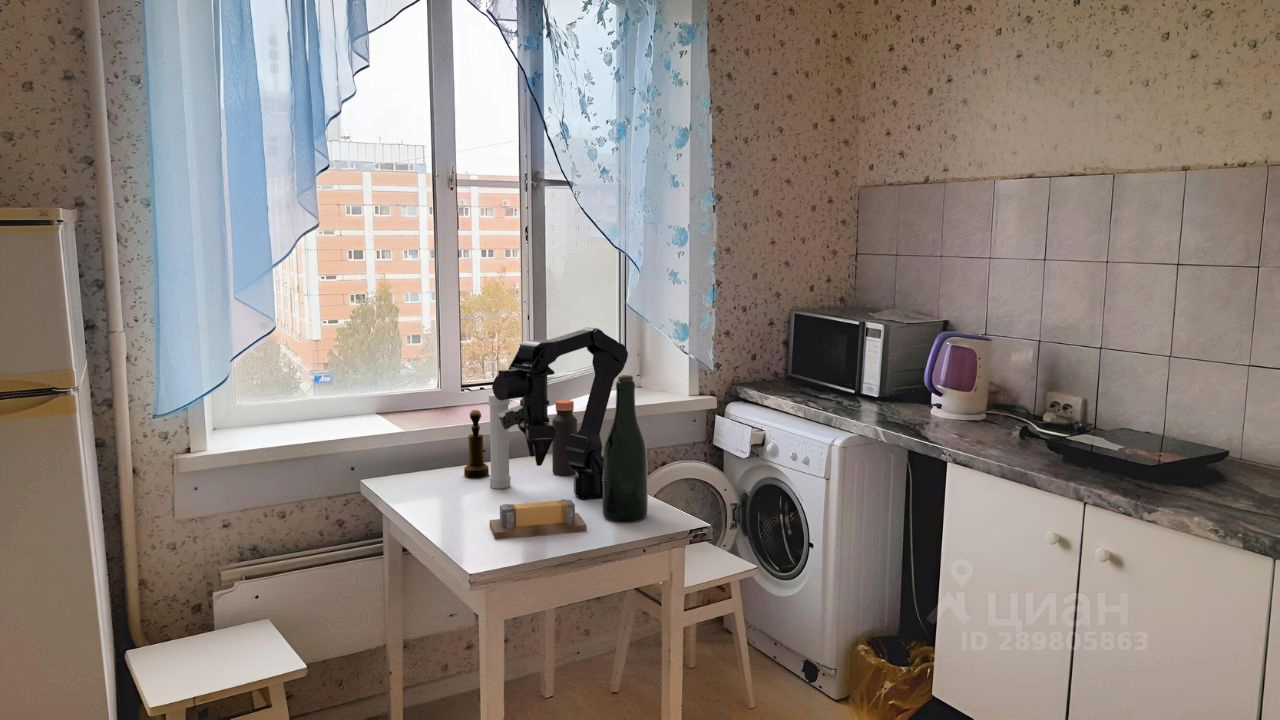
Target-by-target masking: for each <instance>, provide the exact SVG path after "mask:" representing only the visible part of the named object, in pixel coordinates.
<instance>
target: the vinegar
mask: <svg viewBox="0 0 1280 720" xmlns="http://www.w3.org/2000/svg"><path fill="white" fill-rule="evenodd" d="M574 405H575V404H574V400H570V399H561V400H559V399H558V400H556V401H555V412H556V415H555V416H554V417H553V418H552V421H551V425H552V426H553V427H554V428H555V429H556V437H555V438H554V440H553V441H552V443H551V447H552V449H551V450H552V454H551V457H552V459H551V460H552V474H553V475H555V476H560V477H569V476H573V475H576V471H575V470H571V468H570V464H569V462H568V459H567V458H566V452H567V450H565V449H566V447H567V445H568V440H569V436H570V435H571V434H573V435H576V433H577V432H578V419H577V418H576V416H575V415H574V414H573V412H574V410H575V409H574Z"/></svg>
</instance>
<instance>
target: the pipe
mask: <svg viewBox="0 0 1280 720" xmlns="http://www.w3.org/2000/svg"><path fill="white" fill-rule="evenodd" d="M487 403H488V406H489V423H490V424H489V429H490V430H489V435H490V476H489V478H488V479H489V486H490V488H491V489H496V490H502V489H503V490H504V489H508V488H510V487H511V479H512V477H511V475H510V449H509V448H510V442H509V439H510V438H509V430H510V428H508V429H504V428H503V427H502V424H501V422H500V419H499V417H498V414H499V413H501V412H503V411H506V410H508V409H509V405H510V404H511V403H510V399H509V400H502V401H500V400H498V399H497V398H496V397H495V395H494V393H493V392H492V393H489V394H488V402H487Z"/></svg>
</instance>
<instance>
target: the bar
mask: <svg viewBox="0 0 1280 720" xmlns="http://www.w3.org/2000/svg"><path fill="white" fill-rule="evenodd" d="M507 504H508V503H507ZM575 506H576V504H575V503H574V502H573V500H572V499H560V500H551V501H550V500H549V501H548V500H547V501H539V502H538V501H537V502H525V503H513V504H512V503H511V504H508V505H503V504H500V505H499V519H500V524H501V526H502V528H506V527H507V513H514V527H518V526H529V525H541V524H553V523H565V522H566V509H567V508H573V522H575V513H576V510H575V508H576V507H575Z"/></svg>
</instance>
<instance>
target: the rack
mask: <svg viewBox="0 0 1280 720" xmlns="http://www.w3.org/2000/svg"><path fill="white" fill-rule="evenodd" d="M502 505H508V503H503V504H502ZM587 526H588V525H587V523H586V521H584V519H582V516H580V514H579V513H578V512H575V522H573V508H567V509H566V522H565V523H553V524H541V525H529V526H518V527H514V513H507V527H506V528H502V526H501V524H500V518H499V519H489V528H490V531H491V533H492V535H493V539H494V540H503V539H513V538H524V537H525V538H527V537H536V536H537V535H539V536H547V535H548V534H550V535H560V533H562V534H569V533H570V534H572V533H583V532H587ZM548 536H549V535H548Z"/></svg>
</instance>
